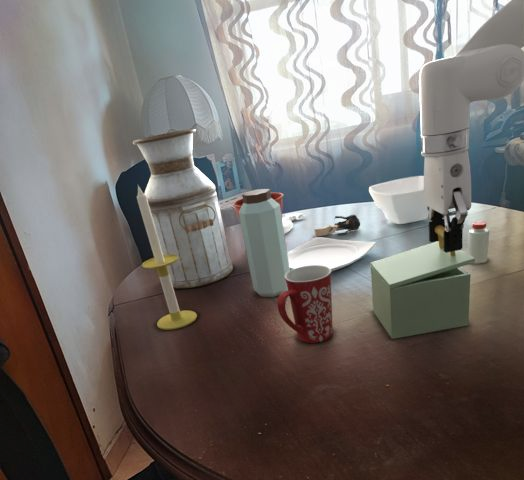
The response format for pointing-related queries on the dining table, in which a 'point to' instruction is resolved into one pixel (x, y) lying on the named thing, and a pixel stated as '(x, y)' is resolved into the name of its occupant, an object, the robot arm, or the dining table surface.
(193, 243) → the milk can
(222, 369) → the dining table surface
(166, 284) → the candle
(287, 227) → the spray bottle
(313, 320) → the mug
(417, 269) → the lid
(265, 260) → the water bottle
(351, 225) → the toy figure
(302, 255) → the plate
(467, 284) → the chest
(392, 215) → the bowl
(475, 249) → the spice bottle
